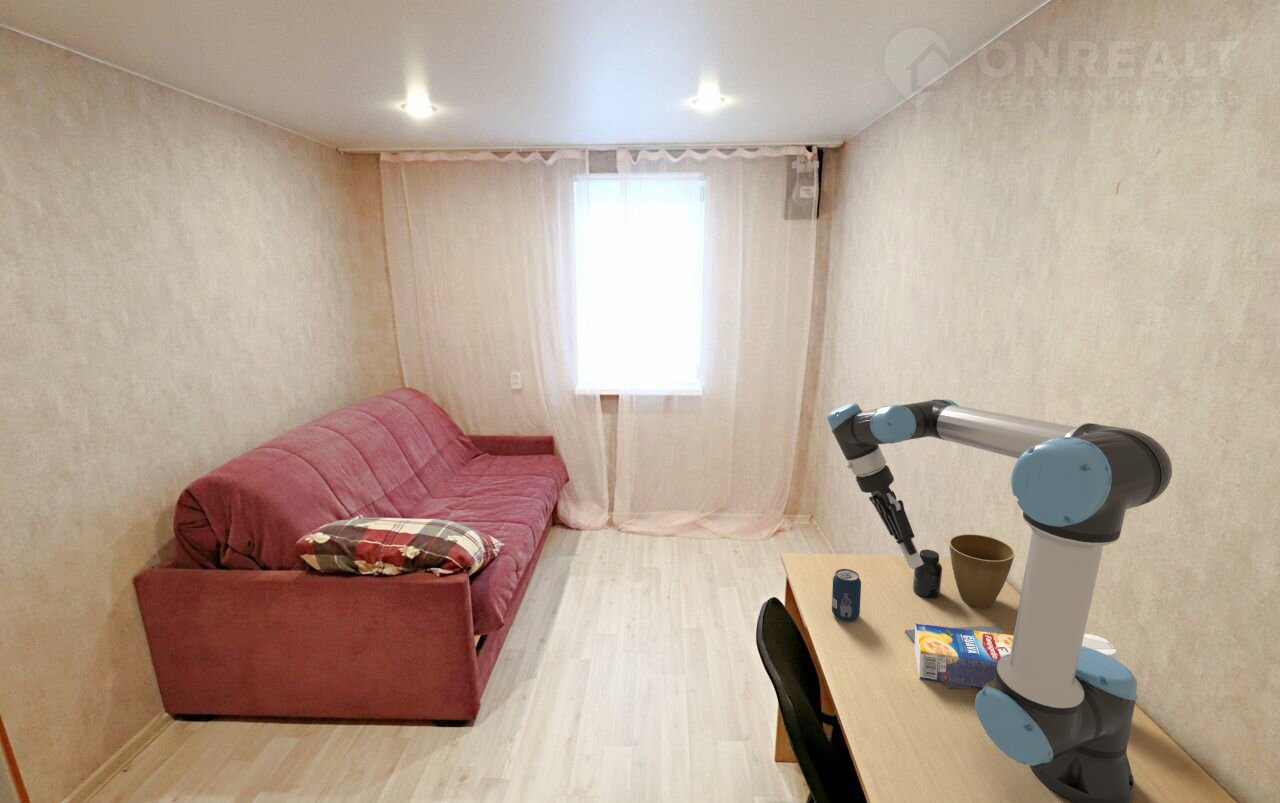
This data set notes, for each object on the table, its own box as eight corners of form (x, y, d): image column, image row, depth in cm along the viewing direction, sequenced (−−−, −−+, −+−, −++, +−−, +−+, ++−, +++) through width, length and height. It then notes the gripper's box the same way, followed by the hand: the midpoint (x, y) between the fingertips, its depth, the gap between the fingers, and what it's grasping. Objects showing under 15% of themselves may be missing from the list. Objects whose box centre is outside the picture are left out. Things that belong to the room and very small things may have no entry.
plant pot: (941, 582, 164) (945, 531, 161) (1000, 590, 159) (1006, 537, 156) (949, 611, 150) (954, 556, 147) (1015, 620, 145) (1022, 563, 142)
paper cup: (1098, 693, 120) (1107, 634, 117) (1117, 720, 113) (1127, 658, 110) (1055, 687, 122) (1063, 629, 119) (1071, 714, 115) (1080, 653, 112)
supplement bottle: (907, 589, 161) (909, 550, 159) (924, 583, 164) (927, 545, 161) (928, 601, 155) (931, 561, 152) (945, 595, 158) (949, 555, 155)
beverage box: (914, 648, 137) (1022, 663, 129) (919, 679, 127) (1036, 697, 119) (915, 623, 135) (1024, 636, 128) (920, 651, 125) (1038, 668, 118)
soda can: (849, 606, 154) (851, 566, 152) (865, 621, 148) (867, 579, 145) (826, 610, 153) (827, 569, 151) (840, 625, 146) (842, 583, 144)
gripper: (845, 474, 135) (889, 565, 134) (866, 481, 122) (915, 581, 121) (874, 460, 135) (918, 551, 134) (898, 465, 122) (947, 566, 121)
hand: (916, 565), depth 128 cm, fingers closed
